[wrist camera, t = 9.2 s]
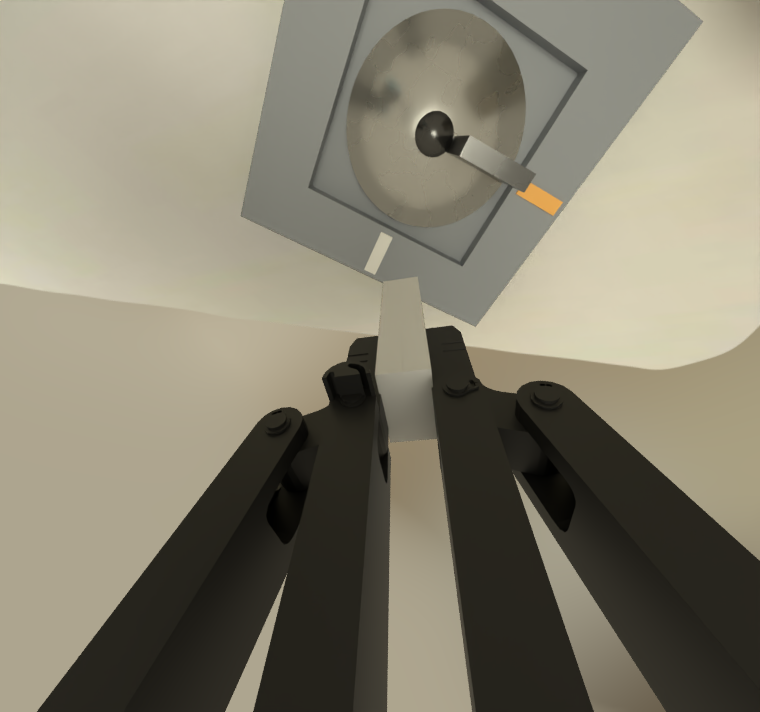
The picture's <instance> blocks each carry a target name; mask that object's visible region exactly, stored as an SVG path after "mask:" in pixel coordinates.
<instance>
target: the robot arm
mask: <svg viewBox="0 0 760 712" xmlns="http://www.w3.org/2000/svg"><path fill="white" fill-rule="evenodd" d="M322 380H323V383H324V386H325V389H326V392H327V394H328V397H329V400H330V402H329V405H328V406H327V407H325V408H323V409H321V410H319V411H316V412H313V413H310V414H307V415H304V416H302V414H301V413H300V412H299V411H298V410H297V409H295V408H291V407H288V408H280V409H277V410H274V411H272V412H270V413H268V414H267V415H265V416H264V417H263V418H262V419H261V420H260V421H259V422H258V423H257V424H256V425H255V427H254V428H253V430H252V431H251V432H250V433H249V435H248V436H247V437H246V439H245V440H244V441H243V443H242V444H241V445H240V446H239V448H238V449H237V450H236V452H235V453H234V455H233V456H232V457H231V458H230V460H229V461H228V462H227V464H226V465H225V466H224V468H223V469H222V470H221V472H220V473H219V474H218V475H217V477H216V478H215V479H214V481H213V482H212V483H211V484H210V486H209V487H208V488H207V490H206V491H205V492H204V494H203V495H202V496H201V497H200V499H199V500H198V501H197V503H196V504H195V505H194V507H193V508H192V509H191V511H190V512H189V513H188V515H187V516H186V517H185V518H184V520H183V521H182V522H181V524H180V525H179V526H178V528H177V529H176V530H175V532H174V533H173V534H172V535H171V537H170V538H169V539H168V541H167V542H166V543H165V545H164V546H163V547H162V549H161V550H160V551H159V553H158V554H157V555H156V556H155V558H154V559H153V560H152V562H151V563H150V564H149V566H148V567H147V568H146V570H145V571H144V572H143V573H142V575H141V576H140V578H139V579H138V580H137V581H136V583H135V584H134V585H133V587H132V588H131V589H130V590H129V592H128V593H127V595H126V596H125V597H124V598H123V600H122V601H121V602H120V604H119V605H118V606H117V607H116V609H115V610H114V612H113V613H112V614H111V615H110V617H109V618H108V619H107V621H106V622H105V623H104V625H103V626H102V627H101V629H100V630H99V631H98V632H97V634H96V635H95V636H94V638H93V639H92V641H91V642H90V643H89V644H88V645H87V647H86V648H85V649H84V651H83V652H82V653H81V655H80V656H79V657H78V659H77V660H76V662H75V663H74V664H73V665H72V666H71V668H70V669H69V670H68V672H67V673H66V674H65V676H64V677H63V678H62V680H61V681H60V682H59V684H58V685H57V686H56V687H55V689H54V690H53V691H52V693H51V694H50V695H49V697H48V698H47V699H46V701H45V702H44V703H43V704H42V706H41V707H40V708H39V710H38V711H37V712H225V711H226V708H227V706H228V704H229V701H230V699H231V697H232V695H233V692H234V691H235V688H236V686H237V684H238V682H239V679H240V677H241V675H242V673H243V670H244V668H245V666H246V664H247V662H248V659H249V657H250V655H251V653H252V650H253V648H254V646H255V644H256V641H257V639H258V637H259V635H260V633H261V630H262V628H263V626H264V624H265V621H266V619H267V617H268V615H269V613H270V610H271V608H272V606H273V604H274V601H275V599H276V597H277V595H278V592H279V590H280V588H281V585H282V584H283V581H284V579H285V577H286V575H287V577H286V581H285V586H284V589H283V593H282V597H281V601H280V606H279V609H278V614H277V617H276V622H275V626H274V630H273V634H272V638H271V642H270V646H269V650H268V654H267V658H266V662H265V666H264V671H263V675H262V679H261V683H260V687H259V691H258V695H257V699H256V703H255V707H254V711H253V712H387V668H388V603H389V602H388V601H389V599H388V598H389V534H390V532H389V531H390V468H391V457H390V452H389V448H388V434H389V438H390V442H403V441H415V440H426V439H427V440H428V439H437V440H438V449H439V459H440V468H441V473H442V480H443V488H444V496H445V504H446V511H447V519H448V527H449V535H450V543H451V551H452V558H453V566H454V574H455V581H456V589H457V597H458V604H459V613H460V620H461V628H462V635H463V643H464V651H465V659H466V667H467V674H468V682H469V690H470V697H471V705H472V712H594V711H593V708H592V705H591V702H590V700H589V696H588V693H587V690H586V688H585V685H584V682H583V679H582V676H581V673H580V670H579V667H578V664H577V661H576V658H575V655H574V652H573V649H572V646H571V643H570V640H569V637H568V635H567V632H566V629H565V626H564V623H563V620H562V617H561V614H560V611H559V608H558V605H557V602H556V599H555V596H554V593H553V590H552V587H551V585H550V581H549V579H548V576H547V573H546V570H545V567H544V564H543V561H542V558H541V555H540V552H539V549H538V546H537V543H536V540H535V537H534V534H533V531H532V528H531V525H530V523H529V519H528V516H527V514H526V511H525V508H524V505H523V502H522V499H521V496H520V493H519V490H518V487H517V484H516V481H515V478H514V475H515V477H516V479H517V480H518V481H519V483H520V485H521V486H522V488H523V489H524V491H525V493H526V494H527V495H528V497H529V499H530V500H531V502H532V503H533V505H534V507H535V508H536V510H537V511H538V513H539V514H540V516H541V517H542V519H543V521H544V522H545V524H546V525H547V527H548V528H549V530H550V531H551V533H552V535H553V536H554V538H555V539H556V541H557V542H558V544H559V545H560V547H561V549H562V550H563V552H564V553H565V555H566V556H567V558H568V559H569V561H570V562H571V564H572V566H573V567H574V569H575V570H576V572H577V573H578V575H579V577H580V578H581V580H582V581H583V583H584V584H585V586H586V587H587V589H588V591H589V592H590V594H591V595H592V597H593V598H594V600H595V601H596V603H597V604H598V606H599V608H600V609H601V611H602V612H603V614H604V615H605V617H606V619H607V620H608V622H609V623H610V625H611V626H612V628H613V629H614V631H615V633H616V634H617V636H618V637H619V639H620V640H621V642H622V643H623V645H624V646H625V648H626V650H627V651H628V653H629V654H630V656H631V657H632V659H633V661H634V662H635V663H636V665H637V667H638V668H639V670H640V671H641V673H642V675H643V676H644V678H645V679H646V681H647V682H648V684H649V685H650V687H651V688H652V690H653V692H654V693H655V695H656V696H657V698H658V699H659V701H660V702H661V704H662V706H663V707H664V709H665V710H666V712H760V561H759V560H758V559H757V558H756V557H755V556H753V554H751V553H750V552H749V551H748V550H747V549H746V548H745V547H744V546H743V545H741V544H740V543H739V542H738V541H737V540H736V539H735V538H734V537H733V536H731V535H730V534H729V533H728V532H727V531H726V530H725V529H724V528H723V527H721V526H720V525H719V524H718V523H717V522H716V521H715V520H714V519H713V518H711V517H710V516H709V515H708V514H707V513H706V512H705V511H703V509H702V508H700V507H699V506H698V505H697V504H696V503H695V502H694V501H692V500H691V499H690V498H689V497H688V496H687V495H686V494H685V493H684V492H683V491H682V490H680V489H679V488H678V487H677V486H676V485H675V484H674V483H673V482H672V481H670V480H669V479H668V478H667V477H666V476H665V475H664V474H663V473H662V472H660V471H659V470H658V469H657V468H656V467H655V466H654V465H653V464H652V463H650V462H649V461H648V460H647V459H646V458H645V457H643V455H641V453H639V452H638V451H637V450H636V449H635V448H634V447H633V446H632V445H630V444H629V443H628V442H627V441H626V440H625V439H624V438H623V437H622V436H620V435H619V434H618V433H617V432H616V431H615V430H614V429H613V428H612V427H611V426H609V425H608V424H607V423H606V422H605V421H604V420H603V419H601V417H599V416H598V415H597V414H596V413H595V412H594V411H593V410H591V408H589V407H588V406H587V405H586V404H585V403H584V402H582V400H581V399H580V398H578V397H577V396H576V395H575V394H574V393H573V392H572V391H570V390H569V389H567V388H566V387H564V386H562V385H559V384H556V383H553V382H548V381H534V382H529V383H527V384H525V385H523V386H521V387H520V388H519V390H518V391H517V394H515V393H506V392H500V391H495V390H492V389H489V388H487V387H485V386H484V385H482V383H481V382H480V380H479V379H477V378H476V377H475V375H474V372H473V368H472V365H471V362H470V360H469V356H468V353H467V350H466V347H465V344H464V341H463V338H462V334H461V332H460V331H459V330H457V329H456V328H455V327H454V326H445V327H437V328H429V329H425V323H424V316H423V309H422V303H421V296H420V289H419V282H418V277H411V278H404V279H398V280H391V281H384V282H383V290H382V302H381V313H380V324H379V335H378V336H374V337H365V338H358V339H356V340H355V341H354V343H353V344H352V345H351V346H350V349H349V353H348V358H347V361H346V362H342V363H339V364H337V365H335V366H333V367H331V368H330V369H329V370H327V371H326V372H325V374H324V375H323V377H322ZM513 474H514V475H513Z"/></svg>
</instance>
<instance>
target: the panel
mask: <svg viewBox="0 0 760 712" xmlns="http://www.w3.org/2000/svg"><path fill="white" fill-rule="evenodd" d="M446 8H447V9H455V10H461V11H464V12H468V13H471V14H474V15H475V16H477V17H479V18H481V19H483V20H485V21H486V22H487V23H488V24H490V25H491V26H492V27H493V28H495V29H496V30H497V31H498V33H499V34H500V35H501V36H502V37H503V38H504V39H505V41H506V42H507V44H508V45H509V47H510V49H511V50H512V52H513V54H514V56H515V58H516V60H517V63H518V65H519V68H520V72H521V75H522V78H523V83H524V90H525V100H526V115H525V126H524V132H523V137H522V141H521V144H520V148H519V151H518V154H517V156H516V159H515V162H517V163H519V164H520V165H522V166H524V167H525V168H527V169H529V170H531V171H532V172H534V173H536V175H535V177H534V178H533V180H532V181H531V183H530V185H529V186H528V188H527V189H526V191H525V192H521V191H519V190H517V189H515V188H512V187H510V186H508V185H505V184H503V183H502V185H501V186H500V188H499V189H498V190H497V191H496V192H495V194H494V195H493V196H492V197H491V198H490V199H489V200H488V201H487V202H486V203H485V204H484V205H483V206H481V207H480V208H479V209H478V210H476V211H475V212H474V213H472V214H470V215H469V216H467V217H465V218H463V219H461V220H459V221H457V222H454V223H451V224H448V225H444V226H438V227H416V226H411V225H408V224H404V223H402V222H399V221H397V220H395V219H393V218H391V217H390V216H388V215H386V214H385V213H384V212H382V211H381V210H380V209H379V208H378V207H377V206H376V205H375V204H374V203H373V202H372V201H371V200H370V199H369V197H368V196H367V195H366V194H365V192H364V191H363V189H362V187H361V185H360V184H359V182H358V180H357V178H356V175H355V173H354V171H353V167H352V164H351V161H350V157H349V152H348V146H347V134H346V125H347V112H348V105H349V100H350V96H351V92H352V88H353V85H354V83H355V80H356V77H357V75H358V73H359V71H360V69H361V67H362V65H363V63H364V61H365V59H366V58H367V56H368V55H369V53H370V52H371V50H372V49H373V47H374V46H375V45H376V44H377V43H378V42H379V40H380V39H381V38H382V37H383V36H384V35H385V34H386V33H387V32H389V31H390V30H391V29H392V28H393V27H394V26H396V25H397V24H399V23H400V22H402V21H404V20H405V19H407V18H409V17H411V16H413V15H416V14H418V13H421V12H425V11H429V10H433V9H446ZM702 23H703V21H702V20H701V19H700V18H699V17H697V16H696V15H695V14H694V13H693V12H692V11H690V10H689V9H688V8H687V7H686V6H684V5H683V4H682V3H681V2H680V1H679V0H284V4H283V9H282V14H281V19H280V24H279V29H278V34H277V39H276V44H275V49H274V54H273V59H272V64H271V69H270V74H269V79H268V83H267V88H266V93H265V98H264V103H263V108H262V113H261V118H260V123H259V128H258V133H257V138H256V143H255V148H254V153H253V158H252V163H251V168H250V173H249V178H248V183H247V187H246V192H245V197H244V202H243V207H242V212H241V217H244V218H246V219H248V220H250V221H252V222H254V223H256V224H258V225H261V226H263V227H265V228H267V229H269V230H271V231H273V232H275V233H278V234H280V235H282V236H284V237H286V238H288V239H290V240H292V241H295V242H297V243H299V244H301V245H303V246H305V247H307V248H309V249H312V250H314V251H316V252H318V253H320V254H322V255H324V256H326V257H329V258H331V259H333V260H335V261H337V262H339V263H341V264H343V265H346V266H348V267H350V268H352V269H354V270H356V271H358V272H360V273H363V274H365V275H367V276H369V277H371V278H373V279H375V280H377V281H380V282H382V283H383V282H384V281H391V280H398V279H404V278H411V277H418V282H419V289H420V296H421V301H422V302H424V303H426V304H428V305H430V306H433V307H435V308H437V309H439V310H441V311H443V312H445V313H447V314H450V315H452V316H454V317H456V318H458V319H460V320H462V321H464V322H467V323H469V324H471V325H473V326H475V327H476V326H477V324H478V323H479V321H480V320H481V319H482V317H483V316H484V315H485V313H486V312H487V311H488V309H489V308H490V307H491V305H492V304H493V303H494V301H495V300H496V299H497V297H498V296H499V295H500V293H501V292H502V291H503V289H504V288H505V287H506V285H507V284H508V283H509V281H510V280H511V279H512V277H513V276H514V275H515V273H516V272H517V271H518V269H519V268H520V267H521V265H522V264H523V263H524V261H525V260H526V258H527V257H528V256H529V254H530V253H531V252H532V250H533V249H534V248H535V246H536V245H537V244H538V242H539V241H540V240H541V238H542V237H543V236H544V234H545V233H546V232H547V230H548V229H549V228H550V226H551V225H552V224H553V222H554V221H555V220H556V218H557V217H558V216H559V214H560V213H561V212H562V210H563V209H564V208H565V206H566V205H567V204H568V202H569V201H570V199H571V198H572V197H573V195H574V194H575V193H576V191H577V190H578V189H579V187H580V186H581V185H582V183H583V182H584V181H585V179H586V178H587V177H588V175H589V174H590V173H591V171H592V170H593V169H594V167H595V166H596V165H597V163H598V162H599V161H600V159H601V158H602V157H603V155H604V154H605V153H606V151H607V150H608V149H609V147H610V146H611V145H612V143H613V142H614V141H615V139H616V138H617V136H618V135H619V134H620V132H621V131H622V130H623V128H624V127H625V126H626V124H627V123H628V122H629V120H630V119H631V118H632V116H633V115H634V114H635V112H636V111H637V110H638V108H639V107H640V106H641V104H642V103H643V102H644V100H645V99H646V98H647V96H648V95H649V94H650V92H651V91H652V90H653V88H654V87H655V86H656V84H657V83H658V82H659V80H660V79H661V78H662V76H663V75H664V73H665V72H666V71H667V69H668V68H669V67H670V65H671V64H672V63H673V61H674V60H675V59H676V57H677V56H678V55H679V53H680V52H681V51H682V49H683V48H684V47H685V45H686V44H687V43H688V41H689V40H690V39H691V37H692V36H693V35H694V33H695V32H696V31H697V29H698V28H699V27H700V25H701V24H702Z"/></svg>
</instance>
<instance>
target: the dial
mask: <svg viewBox="0 0 760 712" xmlns="http://www.w3.org/2000/svg"><path fill="white" fill-rule="evenodd" d="M525 115H526V100H525V90H524V83H523V78H522V75H521V72H520V68H519V65H518V63H517V60H516V58H515V56H514V54H513V52H512V50H511V49H510V47H509V45H508V44H507V42H506V41H505V39H504V38H503V37H502V36H501V35H500V34H499V33H498V31H497V30H496V29H495V28H493V27H492V26H491V25H490V24H488V23H487V22H486V21H485V20H483V19H481V18H479V17H477V16H475V15H474V14H471V13H468V12H464V11H461V10H455V9H447V8H446V9H433V10H429V11H425V12H421V13H418V14H416V15H413V16H411V17H409V18H407V19H405V20H404V21H402V22H400V23H399V24H397V25H396V26H394V27H393V28H392V29H391V30H390V31H389V32H387V33H386V34H385V35H384V36H383V37H382V38H381V39H380V40H379V42H378V43H377V44H376V45H375V46H374V47H373V49H372V50H371V52H370V53H369V55H368V56H367V58H366V59H365V61H364V63H363V65H362V67H361V69H360V71H359V73H358V75H357V77H356V80H355V83H354V85H353V88H352V92H351V96H350V100H349V105H348V112H347V125H346V134H347V146H348V152H349V157H350V161H351V164H352V167H353V171H354V173H355V175H356V178H357V180H358V182H359V184H360V185H361V187H362V189H363V191H364V192H365V194H366V195H367V196H368V197H369V199H370V200H371V201H372V202H373V203H374V204H375V205H376V206H377V207H378V208H379V209H380V210H381V211H382V212H384V213H385V214H386V215H388V216H390V217H391V218H393V219H395V220H397V221H399V222H402V223H404V224H408V225H411V226H416V227H438V226H444V225H448V224H451V223H454V222H457V221H459V220H461V219H463V218H465V217H467V216H469V215H470V214H472V213H474V212H475V211H476V210H478V209H479V208H480V207H481V206H483V205H484V204H485V203H486V202H487V201H488V200H489V199H490V198H491V197H492V196H493V195H494V194H495V192H496V191H497V190H498V189H499V188H500V186H501V185H502V183H503V184H505V185H508V186H510V187H512V188H515V189H517V190H519V191H521V192H525V191H526V189H527V188H528V186H529V185H530V183H531V181H532V180H533V178H534V177H535V175H536V173H534V172H532V171H531V170H529V169H527V168H525V167H524V166H522V165H520V164H519V163H517V162H515V159H516V156H517V154H518V151H519V148H520V144H521V141H522V137H523V132H524V126H525Z"/></svg>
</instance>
